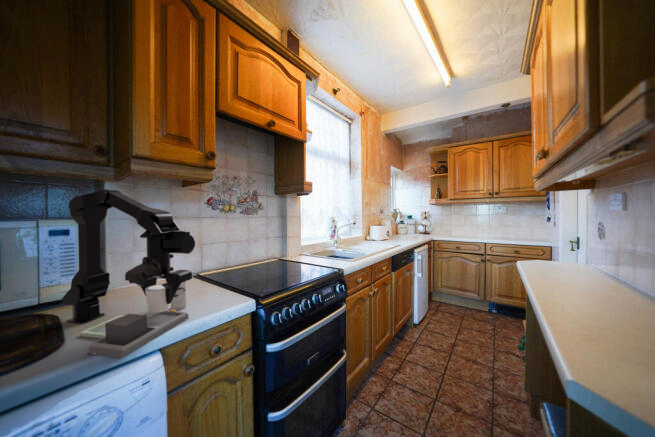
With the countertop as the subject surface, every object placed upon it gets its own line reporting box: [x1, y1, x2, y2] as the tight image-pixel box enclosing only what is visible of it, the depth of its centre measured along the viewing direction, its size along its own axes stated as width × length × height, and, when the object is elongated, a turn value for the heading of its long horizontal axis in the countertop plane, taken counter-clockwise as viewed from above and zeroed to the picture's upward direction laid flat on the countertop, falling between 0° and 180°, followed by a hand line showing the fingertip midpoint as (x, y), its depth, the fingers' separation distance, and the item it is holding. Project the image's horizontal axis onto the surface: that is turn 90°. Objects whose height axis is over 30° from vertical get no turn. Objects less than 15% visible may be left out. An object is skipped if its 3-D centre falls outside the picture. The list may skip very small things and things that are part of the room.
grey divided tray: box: [87, 309, 189, 359], centre depth 68 cm, size 10×21×6 cm, turn 169°
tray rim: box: [79, 314, 125, 339], centre depth 71 cm, size 11×11×1 cm
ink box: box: [170, 281, 187, 311], centre depth 87 cm, size 9×5×12 cm, turn 31°
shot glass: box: [145, 283, 171, 314], centre depth 72 cm, size 7×7×7 cm
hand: (159, 302), depth 72 cm, fingers closed on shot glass, 6 cm apart
